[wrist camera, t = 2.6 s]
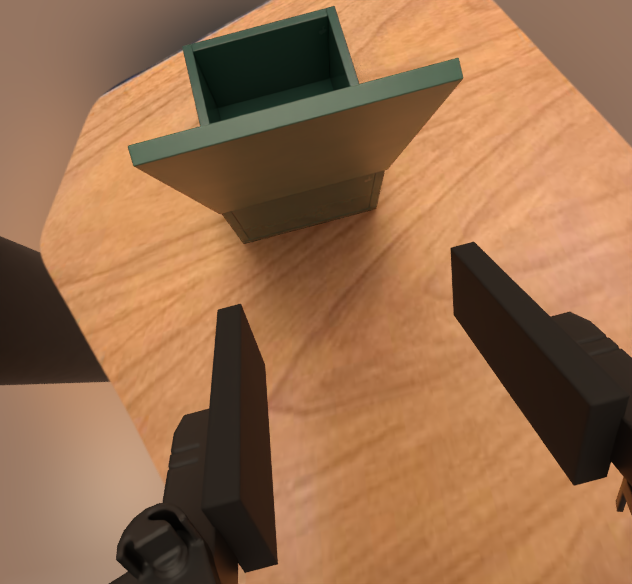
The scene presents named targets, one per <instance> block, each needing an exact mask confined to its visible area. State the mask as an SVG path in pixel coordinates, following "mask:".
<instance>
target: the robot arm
mask: <svg viewBox="0 0 632 584" xmlns="http://www.w3.org/2000/svg"><path fill="white" fill-rule="evenodd" d="M451 266H452V288H453V309H454V316H455V317H456V319H457V320H458V322H459V323H460V324H461V326H462V327H463V329H464V330H465V332H466V333H467V334H468V336H469V337H470V339H471V340H472V341H473V343H474V344H475V346H476V347H477V349H478V350H479V351H480V353H481V354H482V356H483V357H484V359H485V360H486V361H487V363H488V364H489V366H490V367H491V369H492V370H493V371H494V373H495V374H496V376H497V377H498V378H499V380H500V381H501V383H502V384H503V386H504V387H505V388H506V390H507V391H508V393H509V394H510V396H511V397H512V398H513V400H514V401H515V403H516V404H517V406H518V407H519V408H520V410H521V411H522V413H523V414H524V416H525V417H526V418H527V420H528V421H529V423H530V424H531V425H532V427H533V428H534V430H535V431H536V433H537V434H538V435H539V437H540V438H541V440H542V441H543V443H544V444H545V445H546V447H547V448H548V450H549V451H550V453H551V454H552V455H553V457H554V458H555V460H556V461H557V462H558V464H559V465H560V467H561V468H562V470H563V471H564V472H565V474H566V475H567V477H568V478H569V480H570V481H571V482H572V484H573V485H574V486H575V485H578V484H582V483H586V482H590V481H593V480H597V479H601V478H605V477H607V474H608V470H609V467H610V463H611V462H612V463H613V464H614V465H615V467H616V468H617V469H618V470H619V472H620V473H621V474H622V475H623V476H624V478H623V481H622V484H621V487H620V490H619V493H618V496H617V499H616V508H617V511H618V512H623V510H624V507H625V504H626V502H627V504H628V507H629V510H630V512H631V515H632V358H631V357H630V356H629V355H628V354H627V353H626V352H625V351H623V350H622V349H619V347H618V345H617V344H616V343H614V342H613V341H612V340H611V339H610V338H607V337H606V335H605V334H604V333H603V332H602V331H601V330H600V329H599V328H597V327H596V326H595V325H594V324H593V323H592V322H591V321H589V320H586V319H584V318H582V317H580V316H578V315H576V314H574V313H571V312H567V313H563V314H559V315H555V316H552V317H550V316H549V315H548V314H547V313H546V312H545V311H544V310H543V309H542V308H541V307H540V306H539V305H538V304H537V303H536V302H535V301H534V300H533V299H532V298H531V297H530V296H529V295H528V294H527V293H526V292H525V291H524V290H523V289H522V288H520V287H519V286H518V285H517V284H516V283H515V282H514V281H513V280H512V279H511V278H510V277H509V276H508V275H507V274H506V273H505V272H504V271H503V270H502V269H501V268H500V267H499V266H498V265H497V264H496V263H495V262H494V261H493V260H492V259H491V258H490V257H489V256H488V255H487V254H486V253H485V252H484V251H483V250H482V249H481V248H480V247H479V246H478V245H477V244H476V243H475V242H471V243H467V244H463V245H460V246H456V247H452V248H451ZM168 467H169V470H168V472H167V478H166V484H165V490H164V496H163V503H159V504H156V505H154V506H152V507H149V508H147V509H145V510H144V511H143V512H141V513H140V514H139V515H137V516H136V517H135V518H134V519H133V520H132V521H131V522H130V524H129V525H128V526H127V528H126V529H125V530H124V532H123V534H122V536H121V538H120V541H119V543H118V545H117V555H116V560H117V561H118V562H119V563H120V564H121V565H122V566H123V567H124V568H125V569H126V570H128V572H126V573H125V574H124V575H122V576H121V577H119V578H117V579H116V580H114V581H112V582H111V583H109V584H238V563H239V565H240V566H241V568H242V569H243V571H244V572H245V573H246V572H250V571H254V570H258V569H261V568H265V567H269V566H273V565H277V564H278V559H277V543H276V527H275V512H274V496H273V480H272V465H271V449H270V433H269V418H268V402H267V386H266V371H265V363H264V361H263V358H262V356H261V353H260V351H259V348H258V346H257V343H256V341H255V338H254V335H253V333H252V330H251V328H250V325H249V323H248V320H247V318H246V315H245V313H244V310H243V308H242V305H241V304H238V305H234V306H230V307H226V308H223V309H219V310H218V312H217V324H216V336H215V348H214V359H213V371H212V383H211V395H210V406H209V409H206V410H202V411H198V412H195V413H191V414H187V415H184V416H183V418H182V420H181V422H180V423H179V425H178V427H177V429H176V430H175V432H174V436H173V442H172V448H171V455H170V460H169V466H168Z"/></svg>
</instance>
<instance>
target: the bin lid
mask: <svg viewBox="0 0 632 584" xmlns="http://www.w3.org/2000/svg"><path fill="white" fill-rule="evenodd" d="M462 79H463V74H462V70H461V66H460V61H459V58H455V59H452V60H448V61H444V62H440V63H437V64H433V65H429V66H425V67H422V68H418V69H414V70H410V71H407V72H403V73H399V74H395V75H392V76H388V77H384V78H380V79H377V80H373V81H369V82H365V83H362V84H358V85H354V86H350V87H347V88H343V89H339V90H335V91H332V92H328V93H324V94H320V95H316V96H313V97H309V98H305V99H301V100H298V101H294V102H290V103H286V104H283V105H279V106H275V107H271V108H268V109H264V110H260V111H256V112H253V113H249V114H245V115H241V116H238V117H234V118H230V119H226V120H223V121H219V122H215V123H211V124H208V125H204V126H200V127H196V128H193V129H189V130H185V131H181V132H178V133H174V134H170V135H166V136H163V137H159V138H155V139H151V140H148V141H144V142H140V143H136V144H133V145H129V146H128V149H129V153H130V156H131V160H132V163H133V166H134V167H136V168H138V169H140V170H141V171H143V172H145V173H147V174H149V175H150V176H152V177H154V178H156V179H158V180H159V181H161V182H163V183H165V184H167V185H168V186H170V187H172V188H174V189H176V190H177V191H179V192H181V193H183V194H185V195H186V196H188V197H190V198H192V199H194V200H195V201H197V202H199V203H201V204H203V205H204V206H206V207H208V208H210V209H212V210H213V211H215V212H217V213H219V214H222V213H226V212H229V211H233V210H237V209H241V208H244V207H248V206H252V205H256V204H259V203H263V202H267V201H271V200H274V199H278V198H282V197H286V196H289V195H293V194H297V193H301V192H304V191H308V190H312V189H316V188H320V187H323V186H327V185H331V184H335V183H338V182H342V181H346V180H350V179H353V178H357V177H361V176H365V175H368V174H372V173H376V172H380V171H383V170H387V169H388V168H389V167H390V166H391V165H392V163H393V162H394V161H395V160H396V159H397V157H398V156H399V155H400V154H401V153H402V151H403V150H404V149H405V148H406V147H407V145H408V144H409V143H410V142H411V141H412V139H413V138H414V137H415V136H416V135H417V133H418V132H419V131H420V130H421V129H422V127H423V126H424V125H425V124H426V123H427V121H428V120H429V119H430V118H431V117H432V115H433V114H434V113H435V112H436V111H437V109H438V108H439V107H440V106H441V105H442V103H443V102H444V101H445V100H446V99H447V97H448V96H449V95H450V94H451V93H452V91H453V90H454V89H455V88H456V87H457V85H458V84H459V83H460V82H461V81H462Z"/></svg>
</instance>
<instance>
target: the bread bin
mask: <svg viewBox="0 0 632 584" xmlns="http://www.w3.org/2000/svg"><path fill="white" fill-rule="evenodd" d="M182 48H183V52H184V57H185V61H186V66H187V70H188V74H189V79H190V83H191V87H192V92H193V96H194V101H195V105H196V109H197V114H198V118H199V122H200V126H204V125H208V124H211V123H215V122H219V121H223V120H226V119H230V118H234V117H238V116H241V115H245V114H249V113H253V112H256V111H260V110H264V109H268V108H271V107H275V106H279V105H283V104H286V103H290V102H294V101H298V100H301V99H305V98H309V97H313V96H316V95H320V94H324V93H328V92H332V91H335V90H339V89H343V88H347V87H350V86H354V85H358V84H359V81H358V78H357V75H356V72H355V69H354V66H353V62H352V59H351V56H350V53H349V50H348V47H347V44H346V40H345V37H344V34H343V31H342V28H341V25H340V22H339V18H338V15H337V12H336V9H335V6H332V7H328V8H326V9H321V10H317V11H314V12H310V13H306V14H302V15H299V16H295V17H291V18H287V19H284V20H280V21H276V22H272V23H269V24H265V25H261V26H257V27H254V28H250V29H246V30H242V31H239V32H235V33H231V34H227V35H224V36H220V37H216V38H212V39H209V40H205V41H201V42H197V43H194V44H189V45H186V46H183V47H182ZM384 172H385V170H383V171H380V172H376V173H372V174H368V175H365V176H361V177H357V178H353V179H350V180H346V181H342V182H338V183H335V184H331V185H327V186H323V187H320V188H316V189H312V190H308V191H304V192H301V193H297V194H293V195H289V196H286V197H282V198H278V199H274V200H271V201H267V202H263V203H259V204H256V205H252V206H248V207H244V208H241V209H237V210H233V211H229V212H226V213H222V215H223V216H224V218H225V219H226V220H227V222H228V223H229V224H230V226H231V227H232V229H233V230H234V231H235V233H236V234H237V235H238V237H239V238H240V240H241V241H242V242H243V244H246V243H249V242H253V241H257V240H261V239H264V238H268V237H272V236H276V235H279V234H283V233H287V232H291V231H295V230H298V229H302V228H306V227H310V226H313V225H317V224H321V223H325V222H328V221H332V220H336V219H340V218H343V217H347V216H351V215H355V214H358V213H362V212H366V211H370V210H373V209H376V207H377V203H378V198H379V194H380V189H381V185H382V181H383V176H384Z"/></svg>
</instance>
